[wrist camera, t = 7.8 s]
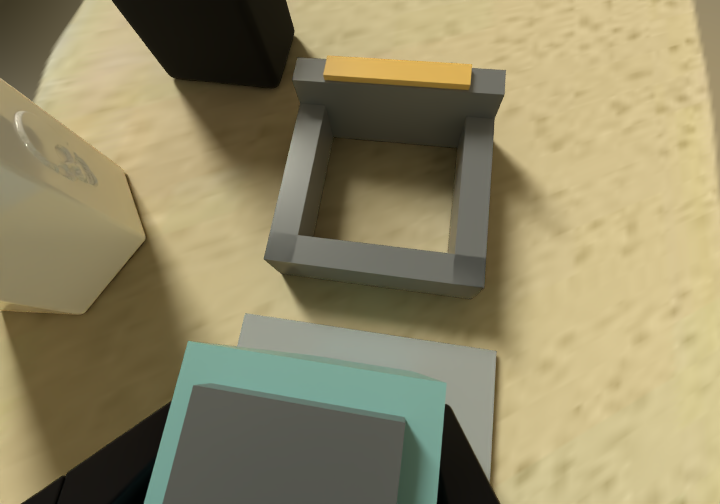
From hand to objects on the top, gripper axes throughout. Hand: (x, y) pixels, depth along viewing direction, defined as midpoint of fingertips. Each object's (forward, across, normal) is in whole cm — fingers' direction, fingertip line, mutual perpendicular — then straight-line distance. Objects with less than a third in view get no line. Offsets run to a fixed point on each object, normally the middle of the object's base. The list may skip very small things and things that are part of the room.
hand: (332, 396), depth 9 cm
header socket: (+11, 0, -1) cm, 11 cm away
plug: (+4, 0, +6) cm, 7 cm away
